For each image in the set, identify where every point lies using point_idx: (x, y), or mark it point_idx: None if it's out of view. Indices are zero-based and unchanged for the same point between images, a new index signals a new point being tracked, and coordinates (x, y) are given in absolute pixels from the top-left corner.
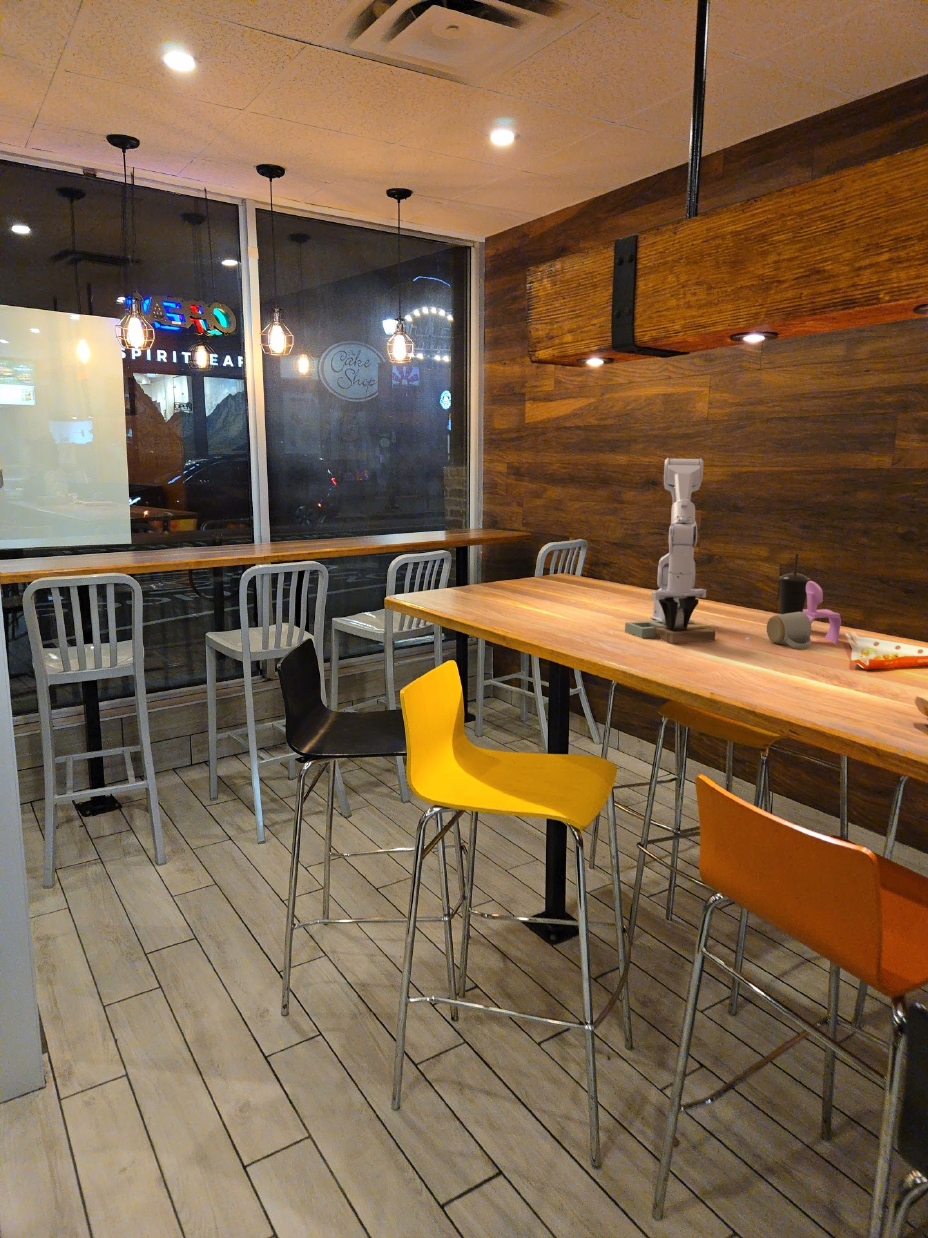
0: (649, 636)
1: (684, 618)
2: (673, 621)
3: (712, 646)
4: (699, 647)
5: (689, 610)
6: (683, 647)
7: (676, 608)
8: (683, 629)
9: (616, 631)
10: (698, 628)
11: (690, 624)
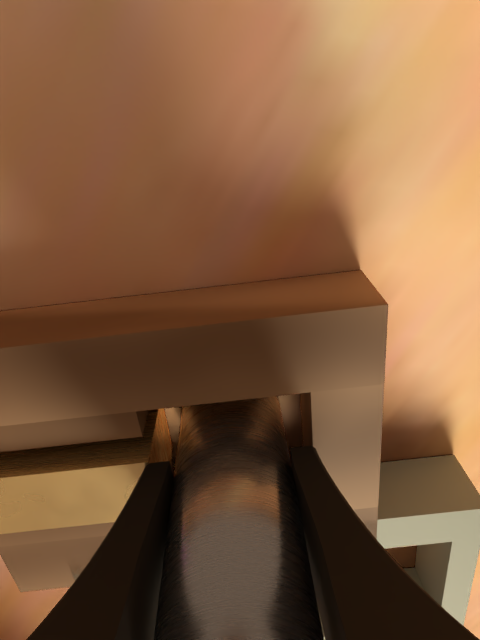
0: (396, 467)
1: (160, 544)
2: (315, 487)
3: (39, 119)
4: (188, 101)
5: (113, 609)
6: (339, 132)
7: (343, 623)
8: (189, 440)
9: (471, 594)
10: (32, 462)
11: (43, 577)
